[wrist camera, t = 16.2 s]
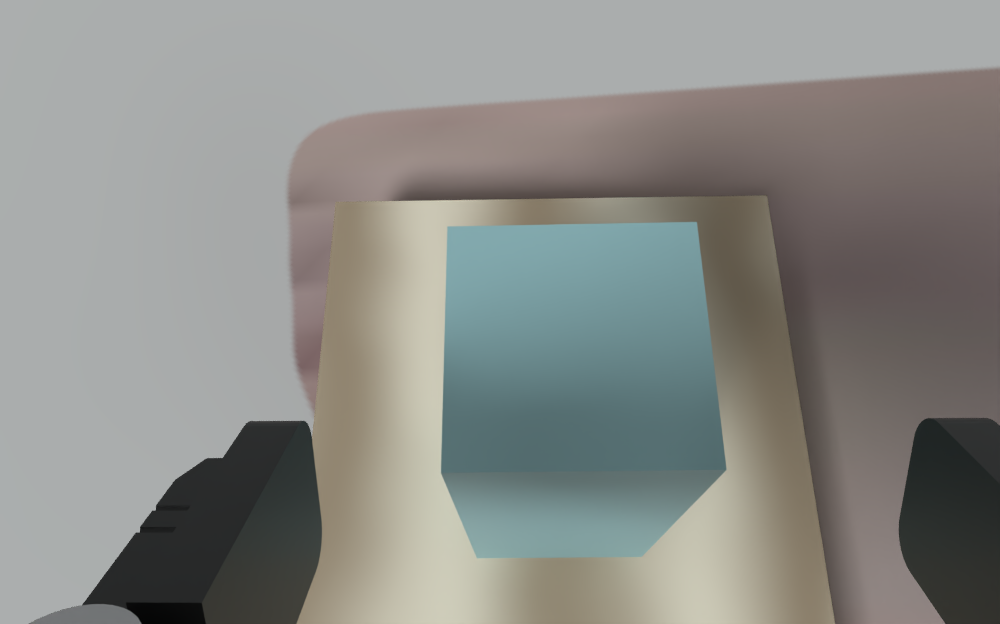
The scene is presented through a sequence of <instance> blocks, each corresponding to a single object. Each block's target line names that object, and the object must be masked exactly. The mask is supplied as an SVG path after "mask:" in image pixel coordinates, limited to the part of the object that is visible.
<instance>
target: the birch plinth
mask: <svg viewBox="0 0 1000 624" xmlns="http://www.w3.org/2000/svg"><path fill="white" fill-rule="evenodd" d="M664 222H697V228H698V236H699V244H700V253H701V261H702V269H703V277H704V286H705V294H706V302H707V311H708V319H709V327H710V335H711V344H712V352H713V360H714V369H715V377H716V385H717V393H718V402H719V410H720V418H721V427H722V435H723V443H724V451H725V460H726V468H727V470H726V471H725V472H724V473H723V474H722V475H721V476H720V477H719V478H718V479H717V480H716V481H715V482H714V483H713V484H712V485H711V486H710V487H709V488H708V490H707V491H706V492H705V493H704V494H703V495H702V496H701V497H700V498H699V499H698V500H697V501H696V502H695V503H694V504H693V505H692V506H691V507H690V508H689V509H688V510H687V511H686V512H685V513H684V514H683V515H682V516H681V517H680V518H679V519H678V520H677V521H676V522H675V523H674V524H673V525H672V526H671V527H670V528H669V529H668V531H667V532H666V533H665V534H664V535H663V536H662V537H661V538H660V539H659V540H658V541H657V542H656V543H655V544H654V545H653V546H652V547H651V548H650V549H649V550H648V551H647V552H646V553H645V554H644V555H643V556H642V557H577V558H477V557H476V555H475V552H474V550H473V548H472V545H471V543H470V541H469V538H468V536H467V534H466V531H465V529H464V526H463V524H462V522H461V519H460V517H459V515H458V512H457V510H456V508H455V505H454V503H453V500H452V498H451V496H450V493H449V491H448V489H447V486H446V484H445V482H444V479H443V477H442V474H441V448H442V411H443V373H444V336H445V299H446V261H447V226H501V225H555V224H610V223H664ZM312 444H313V452H314V460H315V469H316V477H317V486H318V494H319V502H320V511H321V520H322V543H321V552H320V558H319V563H318V567H317V570H316V573H315V575H314V578H313V581H312V583H311V586H310V589H309V591H308V594H307V597H306V599H305V602H304V605H303V608H302V610H301V613H300V616H299V618H298V621H297V624H835V620H834V614H833V607H832V601H831V595H830V589H829V582H828V576H827V570H826V563H825V557H824V551H823V545H822V538H821V532H820V526H819V520H818V513H817V507H816V501H815V494H814V488H813V482H812V476H811V469H810V463H809V457H808V450H807V444H806V438H805V432H804V425H803V419H802V413H801V406H800V400H799V394H798V388H797V381H796V375H795V369H794V362H793V356H792V350H791V344H790V337H789V331H788V325H787V319H786V312H785V306H784V300H783V293H782V287H781V281H780V275H779V268H778V262H777V256H776V249H775V243H774V237H773V231H772V224H771V218H770V212H769V205H768V199H767V195H761V196H696V197H630V198H565V199H499V200H433V201H368V202H336V204H335V214H334V224H333V234H332V244H331V254H330V264H329V274H328V284H327V294H326V304H325V314H324V324H323V334H322V345H321V355H320V365H319V375H318V385H317V395H316V405H315V415H314V425H313V435H312Z"/></svg>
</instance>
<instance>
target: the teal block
mask: <svg viewBox="0 0 1000 624" xmlns="http://www.w3.org/2000/svg"><path fill="white" fill-rule="evenodd" d="M726 470H727V468H726V460H725V451H724V443H723V435H722V427H721V418H720V410H719V402H718V393H717V385H716V377H715V369H714V360H713V352H712V344H711V335H710V327H709V319H708V311H707V302H706V294H705V286H704V277H703V269H702V261H701V253H700V244H699V236H698V228H697V222H664V223H610V224H555V225H501V226H447V261H446V299H445V336H444V373H443V411H442V448H441V474H442V477H443V479H444V482H445V484H446V486H447V489H448V491H449V493H450V496H451V498H452V500H453V503H454V505H455V508H456V510H457V512H458V515H459V517H460V519H461V522H462V524H463V526H464V529H465V531H466V534H467V536H468V538H469V541H470V543H471V545H472V548H473V550H474V552H475V555H476V557H477V558H577V557H642V556H643V555H644V554H645V553H646V552H647V551H648V550H649V549H650V548H651V547H652V546H653V545H654V544H655V543H656V542H657V541H658V540H659V539H660V538H661V537H662V536H663V535H664V534H665V533H666V532H667V531H668V529H669V528H670V527H671V526H672V525H673V524H674V523H675V522H676V521H677V520H678V519H679V518H680V517H681V516H682V515H683V514H684V513H685V512H686V511H687V510H688V509H689V508H690V507H691V506H692V505H693V504H694V503H695V502H696V501H697V500H698V499H699V498H700V497H701V496H702V495H703V494H704V493H705V492H706V491H707V490H708V488H709V487H710V486H711V485H712V484H713V483H714V482H715V481H716V480H717V479H718V478H719V477H720V476H721V475H722V474H723V473H724V472H725V471H726Z"/></svg>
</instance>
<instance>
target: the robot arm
mask: <svg viewBox="0 0 1000 624" xmlns="http://www.w3.org/2000/svg"><path fill="white" fill-rule="evenodd" d="M899 539H900V546H901V551H902V554H903V557H904V560H905V563H906V565H907V567H908V569H909V571H910V572H911V574H912V575H913V577H914V578H915V580H916V581H917V583H918V584H919V586H920V587H921V588H922V590H923V591H924V593H925V594H926V596H927V597H928V599H929V600H930V602H931V603H932V605H933V606H934V607H935V609H936V610H937V612H938V613H939V615H940V616H941V618H942V619H943V621H944V622H945V624H1000V426H999V425H998V424H997V423H996V422H994V421H993V420H991V419H989V418H928V419H925V420H923V421H922V422H921V423H920V424H919V426H918V428H917V430H916V433H915V437H914V441H913V447H912V453H911V458H910V464H909V469H908V475H907V480H906V486H905V491H904V497H903V503H902V508H901V514H900V520H899ZM321 543H322V520H321V511H320V502H319V494H318V486H317V477H316V469H315V460H314V452H313V444H312V436H311V432H310V428H309V426H308V424H307V423H306V422H305V421H250V422H248V423H246V425H245V426H244V427H243V429H242V430H241V432H240V433H239V435H238V436H237V438H236V439H235V441H234V442H233V444H232V445H231V447H230V448H229V450H228V451H227V453H226V454H225V456H224V457H223V458H207V459H205V460H204V461H202V462H201V463H199V464H198V465H196V466H195V467H193V468H192V469H191V470H189V471H188V472H186V473H185V474H183V475H182V476H180V477H179V478H177V479H176V480H175V481H174V482H173V484H172V485H171V486H170V488H169V489H168V490H167V492H166V493H165V494H164V496H163V497H162V499H161V500H160V501H159V502H158V504H157V505H156V511H152V512H151V513H150V515H149V516H148V517H147V519H146V520H145V521H144V523H143V524H142V525H141V527H140V533H135V535H134V536H133V538H132V539H131V540H130V541H129V543H128V544H127V546H126V547H125V548H124V549H123V551H122V552H121V554H120V555H119V557H118V558H117V559H116V560H115V562H114V563H113V564H112V566H111V567H110V568H109V570H108V571H107V572H106V574H105V575H104V576H103V578H102V579H101V580H100V582H99V583H98V584H97V586H96V587H95V589H94V590H93V591H92V593H91V594H90V595H89V597H88V598H87V600H86V601H85V602H84V603H83V605H82V606H76V607H71V608H67V609H63V610H60V611H57V612H54V613H51V614H49V615H47V616H44V617H42V618H40V619H37V620H35V621H33V622H31V623H29V624H297V621H298V618H299V616H300V613H301V610H302V608H303V605H304V602H305V599H306V597H307V594H308V591H309V589H310V586H311V583H312V581H313V578H314V575H315V573H316V570H317V567H318V563H319V558H320V552H321Z"/></svg>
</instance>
